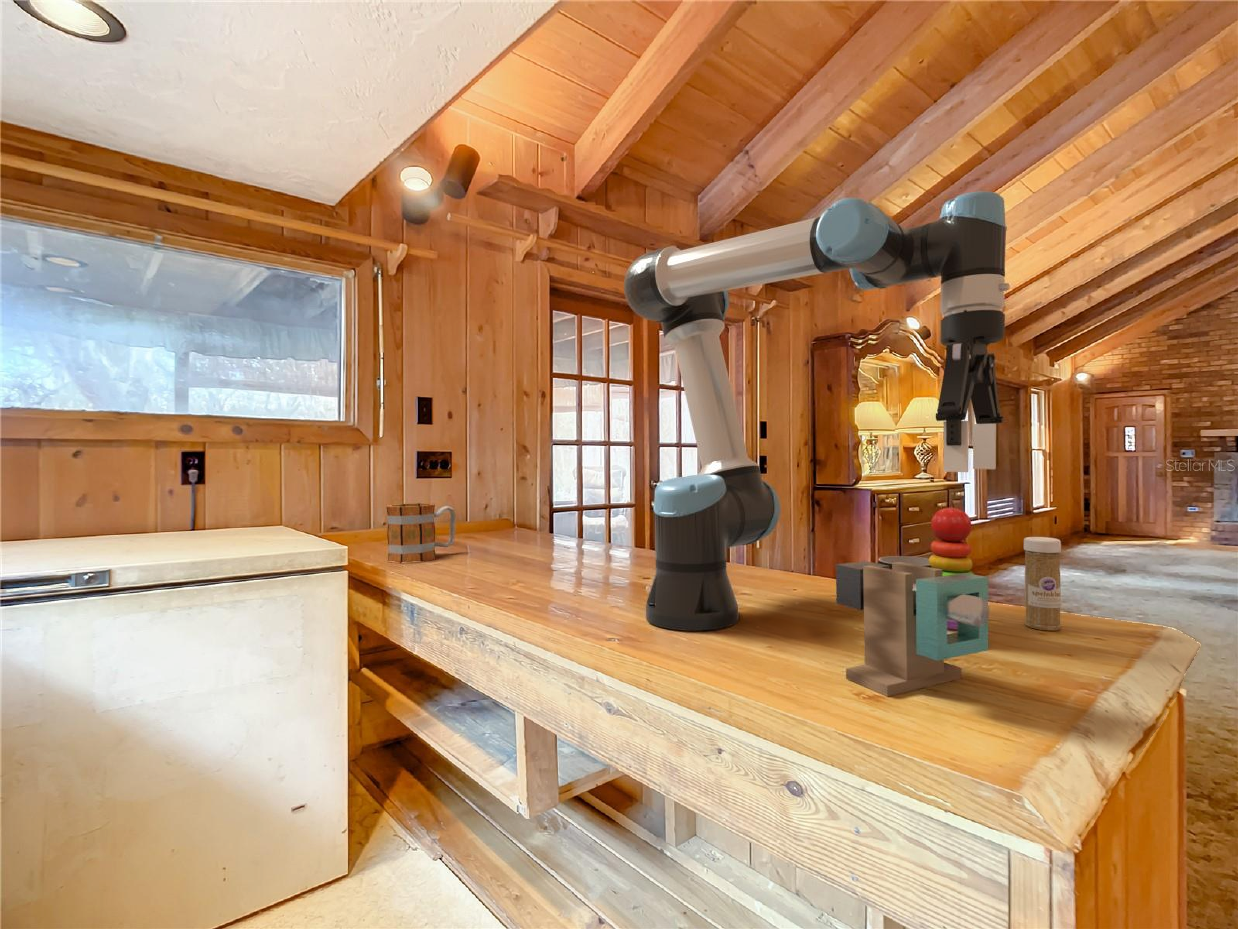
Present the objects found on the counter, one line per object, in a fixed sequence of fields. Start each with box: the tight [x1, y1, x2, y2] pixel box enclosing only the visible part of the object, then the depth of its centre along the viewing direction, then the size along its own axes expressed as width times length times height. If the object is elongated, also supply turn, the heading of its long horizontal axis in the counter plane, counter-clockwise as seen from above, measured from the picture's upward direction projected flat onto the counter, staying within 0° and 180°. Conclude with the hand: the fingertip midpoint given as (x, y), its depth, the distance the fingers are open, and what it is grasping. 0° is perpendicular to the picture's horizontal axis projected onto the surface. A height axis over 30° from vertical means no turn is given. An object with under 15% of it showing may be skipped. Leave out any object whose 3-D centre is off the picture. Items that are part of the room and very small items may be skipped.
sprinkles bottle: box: [1023, 536, 1062, 632], centre depth 90 cm, size 5×5×14 cm
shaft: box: [835, 560, 990, 627], centre depth 70 cm, size 18×5×5 cm, turn 24°
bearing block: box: [845, 562, 963, 697], centre depth 71 cm, size 6×12×13 cm, turn 114°
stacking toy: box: [929, 507, 975, 634], centre depth 86 cm, size 8×8×19 cm
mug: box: [386, 502, 456, 562], centre depth 168 cm, size 20×14×15 cm
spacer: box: [916, 573, 989, 661], centre depth 65 cm, size 2×8×8 cm, turn 114°
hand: (970, 470), depth 82 cm, fingers open, 13 cm apart
